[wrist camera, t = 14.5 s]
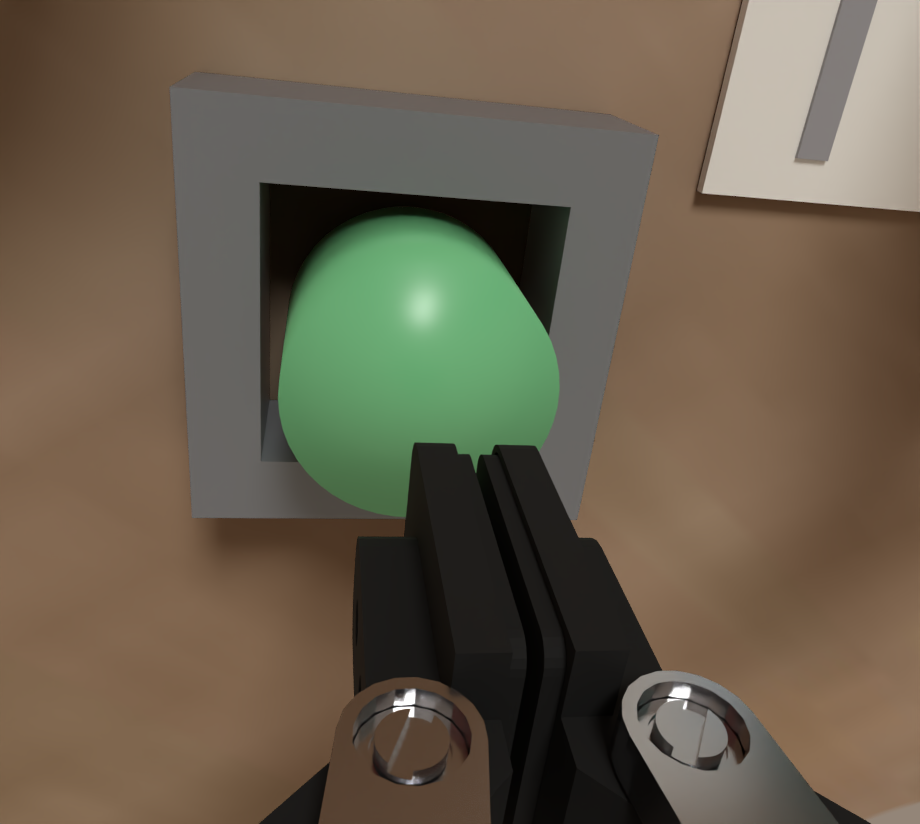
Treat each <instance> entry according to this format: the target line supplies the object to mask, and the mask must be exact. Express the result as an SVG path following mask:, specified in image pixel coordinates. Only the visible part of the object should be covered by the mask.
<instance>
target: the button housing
mask: <svg viewBox="0 0 920 824" xmlns="http://www.w3.org/2000/svg"><path fill="white" fill-rule="evenodd" d="M170 104H171V123H172V142H173V161H174V181H175V200H176V219H177V238H178V257H179V277H180V296H181V315H182V334H183V353H184V372H185V392H186V411H187V430H188V449H189V468H190V487H191V507H192V518H320V519H406V517H395V516H388V515H383V514H377V513H374V512H370V511H367V510H363V509H360V508H358V507H356V506H353V505H351V504H349V503H346V502H344V501H343V500H341V499H339V498H338V497H336V496H334V495H332V494H331V493H330V492H328V491H327V490H326V489H324V488H323V487H322V486H320V485H319V484H318V483H317V482H316V481H315V480H314V479H313V478H312V477H311V476H310V475H309V474H308V473H307V472H306V471H305V470H304V468H303V467H302V466H301V464H300V463H299V462H298V460H297V459H296V457H295V455H294V454H293V452H292V450H291V448H290V446H289V445H288V442H287V439H286V437H285V434H284V432H283V429H282V424H281V420H280V415H279V404H278V400H270V183H274V184H287V185H300V186H312V187H325V188H337V189H350V190H362V191H375V192H387V193H400V194H412V195H425V196H437V197H450V198H463V199H475V200H488V201H500V202H513V203H525V204H532V208H531V215H530V221H529V228H528V235H527V241H526V248H525V255H524V261H523V268H522V275H521V281H520V288H519V289H520V291H521V292H522V294H523V295H524V297H525V298H526V300H527V302H528V303H529V305H530V306H531V308H532V309H533V311H534V312H535V314H536V315H537V317H538V318H539V320H540V322H541V323H542V325H543V326H544V328H545V330H546V332H547V334H548V336H549V338H550V340H551V342H552V345H553V348H554V351H555V354H556V358H557V364H558V369H559V385H560V390H559V399H558V406H557V410H556V414H555V418H554V422H553V424H552V427H551V429H550V432H549V434H548V436H547V438H546V440H545V442H544V444H543V445H542V447H541V449H540V451H539V453H540V455H541V457H542V460H543V462H544V464H545V466H546V468H547V470H548V473H549V475H550V477H551V479H552V481H553V484H554V486H555V488H556V490H557V492H558V494H559V497H560V499H561V501H562V503H563V505H564V507H565V510H566V512H567V514H568V516H569V518H570V520H577V517H578V513H579V508H580V503H581V499H582V494H583V489H584V485H585V480H586V475H587V470H588V466H589V461H590V456H591V452H592V447H593V442H594V438H595V433H596V428H597V424H598V419H599V414H600V409H601V405H602V400H603V395H604V391H605V386H606V381H607V377H608V372H609V367H610V362H611V358H612V353H613V348H614V344H615V339H616V334H617V330H618V325H619V320H620V315H621V311H622V306H623V301H624V297H625V292H626V287H627V283H628V278H629V273H630V269H631V264H632V259H633V254H634V250H635V245H636V240H637V236H638V231H639V226H640V222H641V217H642V212H643V207H644V203H645V198H646V193H647V189H648V184H649V179H650V175H651V170H652V165H653V160H654V156H655V151H656V146H657V142H658V137H659V135H657V134H655V133H653V132H650V131H648V130H646V129H643V128H641V127H639V126H636V125H634V124H632V123H629V122H627V121H624V120H622V119H620V118H617V117H615V116H613V115H610V114H601V113H591V112H581V111H572V110H562V109H552V108H542V107H533V106H523V105H513V104H503V103H494V102H484V101H474V100H464V99H455V98H445V97H435V96H426V95H416V94H406V93H396V92H387V91H377V90H367V89H357V88H348V87H338V86H328V85H318V84H309V83H299V82H289V81H279V80H270V79H260V78H250V77H241V76H231V75H221V74H211V73H202V72H194V73H192V74H191V75H189V76H187V77H185V78H184V79H182V80H180V81H179V82H177V83H175V84H173V85H172V86H170Z"/></svg>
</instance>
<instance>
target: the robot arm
mask: <svg viewBox="0 0 920 824" xmlns="http://www.w3.org/2000/svg"><path fill="white" fill-rule="evenodd" d="M353 676H354V698H353V699H352V700H351V701H350V702H349V704H348V705H347V706H346V707H345V708H344V709H343V712H342V714H341V717H340V719H339V722H338V724H337V727H336V732H335V737H334V743H333V748H332V754H331V759H330V762H329V763H328V764H327V765H326V766H325V767H324V768H322V769H321V770H320V771H319V772H318V773H317V774H316V775H314V776H313V777H312V778H311V779H310V780H309V781H307V782H306V783H305V784H304V785H303V786H302V787H301V788H299V789H298V790H297V791H296V792H295V793H294V794H293V795H291V796H290V797H289V798H288V799H287V800H286V801H284V802H283V803H282V804H281V805H280V806H279V807H278V808H276V809H275V810H274V811H273V812H272V813H271V814H270V815H268V816H267V817H266V818H265V819H264V820H263V821H261V822H260V823H259V824H870V823H869V822H867V821H866V820H864V819H862V818H860V817H859V816H857V815H855V814H853V813H852V812H850V811H848V810H846V809H845V808H843V807H841V806H839V805H838V804H836V803H834V802H832V801H831V800H829V799H827V798H825V797H824V796H822V795H820V794H818V793H817V792H815V791H813V790H812V788H811V787H810V786H809V784H808V783H807V782H806V780H805V779H804V778H803V777H802V775H801V774H800V773H799V771H798V770H797V769H796V768H795V766H794V765H793V764H792V762H791V761H790V760H789V759H788V757H787V756H786V755H785V753H784V752H783V751H782V749H781V748H780V747H779V746H778V744H777V743H776V742H775V740H774V739H773V738H772V737H771V735H770V734H769V733H768V731H767V730H766V729H765V727H764V726H763V725H762V724H761V722H760V721H759V720H758V718H757V717H756V716H755V715H754V713H753V712H752V711H751V710H750V709H749V708H748V707H747V706H746V705H745V704H744V703H743V702H742V701H741V700H740V699H739V698H738V697H737V696H736V695H734V694H733V693H731V692H730V691H728V690H727V689H725V688H724V687H722V686H721V685H719V684H717V683H715V682H713V681H710V680H708V679H706V678H703V677H701V676H699V675H695V674H690V673H685V672H680V671H662V669H661V667H660V665H659V663H658V661H657V659H656V657H655V655H654V653H653V651H652V649H651V647H650V645H649V643H648V641H647V639H646V637H645V635H644V633H643V631H642V629H641V627H640V625H639V623H638V621H637V619H636V616H635V614H634V612H633V610H632V608H631V606H630V604H629V602H628V600H627V598H626V596H625V594H624V592H623V590H622V588H621V586H620V584H619V582H618V580H617V578H616V576H615V574H614V572H613V570H612V568H611V566H610V564H609V562H608V560H607V558H606V556H605V554H604V552H603V550H602V548H601V546H600V545H599V543H598V542H597V540H595V539H593V538H578V536H577V534H576V531H575V529H574V527H573V525H572V523H571V520H570V518H569V516H568V514H567V512H566V510H565V507H564V505H563V503H562V501H561V499H560V497H559V494H558V492H557V490H556V488H555V486H554V484H553V481H552V479H551V477H550V475H549V473H548V470H547V468H546V466H545V464H544V462H543V460H542V457H541V455H540V453H539V451H538V449H537V447H536V446H532V445H495V446H494V448H493V450H492V454H491V455H484V454H481V455H480V456H479V459H478V463H477V470H476V472H475V469H474V466H473V462H472V459H471V456H470V454H458V452H457V448H456V446H455V444H454V443H420V442H415V443H414V445H413V449H412V457H411V468H410V478H409V489H408V500H407V511H406V521H405V532H404V537H358V538H357V545H356V558H355V574H354V592H353Z"/></svg>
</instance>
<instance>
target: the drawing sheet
mask: <svg viewBox="0 0 920 824" xmlns="http://www.w3.org/2000/svg"><path fill="white" fill-rule="evenodd" d="M697 191H699V192H701V193H705V194H717V195H729V196H740V197H752V198H764V199H775V200H787V201H799V202H810V203H822V204H834V205H845V206H857V207H869V208H880V209H892V210H904V211H915V212H920V0H743V1H742V5H741V9H740V14H739V18H738V22H737V26H736V30H735V34H734V39H733V43H732V47H731V51H730V55H729V59H728V63H727V68H726V72H725V76H724V80H723V84H722V88H721V93H720V97H719V101H718V105H717V109H716V113H715V117H714V122H713V126H712V130H711V134H710V138H709V142H708V146H707V151H706V155H705V159H704V163H703V167H702V171H701V176H700V180H699V184H698V188H697Z"/></svg>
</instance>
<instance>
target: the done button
mask: <svg viewBox="0 0 920 824" xmlns="http://www.w3.org/2000/svg"><path fill="white" fill-rule="evenodd" d="M559 390H560V385H559V369H558V364H557V358H556V354H555V351H554V348H553V345H552V342H551V340H550V338H549V336H548V334H547V332H546V330H545V328H544V326H543V325H542V323H541V322H540V320H539V318H538V317H537V315H536V314H535V312H534V311H533V309H532V308H531V306H530V305H529V303H528V302H527V300H526V298H525V297H524V295H523V294H522V292H521V291H520V289H519V288H518V286H517V285H516V283H515V282H514V280H513V278H512V277H511V275H510V274H509V272H508V271H507V269H506V268H505V266H504V265H503V263H502V261H501V260H500V258H499V257H498V256H497V254H496V253H495V251H494V250H493V248H492V247H491V246H490V245H489V244H488V243H487V242H486V241H485V240H484V238H483V237H482V236H480V235H479V234H478V233H477V232H476V231H474V230H473V229H472V228H471V227H469V226H468V225H466V224H464V223H463V222H461V221H459V220H458V219H456V218H453V217H451V216H449V215H446V214H444V213H441V212H437V211H434V210H430V209H426V208H419V207H398V206H397V207H389V208H381V209H377V210H373V211H369V212H366V213H363V214H361V215H358V216H356V217H353V218H351V219H349V220H347V221H346V222H344V223H342V224H340V225H339V226H337V227H336V228H334V229H333V230H332V231H330V232H329V233H328V234H327V235H325V236H324V237H323V238H322V239H321V240H320V241H319V242H318V243H317V244H316V245H315V246H314V248H313V249H312V250H311V252H310V253H309V254H308V256H307V257H306V258H305V260H304V262H303V263H302V265H301V267H300V269H299V271H298V273H297V275H296V278H295V281H294V283H293V286H292V290H291V295H290V299H289V306H288V314H287V322H286V330H285V338H284V346H283V354H282V362H281V370H280V378H279V389H278V404H279V415H280V420H281V424H282V429H283V432H284V434H285V437H286V439H287V442H288V445H289V446H290V448H291V450H292V452H293V454H294V455H295V457H296V459H297V460H298V462H299V463H300V464H301V466H302V467H303V468H304V470H305V471H306V472H307V473H308V474H309V475H310V476H311V477H312V478H313V479H314V480H315V481H316V482H317V483H318V484H319V485H320V486H322V487H323V488H324V489H326V490H327V491H328V492H330V493H331V494H332V495H334V496H336V497H338V498H339V499H341V500H343V501H344V502H346V503H349V504H351V505H353V506H356V507H358V508H360V509H363V510H367V511H370V512H374V513H377V514H383V515H388V516H395V517H406V511H407V500H408V489H409V478H410V468H411V457H412V449H413V445H414V443H415V442H420V443H454V444H455V446H456V448H457V452H458V454H470V456H471V459H472V462H473V466H474V469H475V472H476V470H477V463H478V459H479V456H480V455H481V454H484V455H491V454H492V450H493V448H494V446H495V445H532V446H536V447H537V449H538V451H540V449H541V447H542V445H543V444H544V442H545V440H546V438H547V436H548V434H549V432H550V429H551V427H552V424H553V422H554V418H555V414H556V410H557V406H558V399H559Z"/></svg>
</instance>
